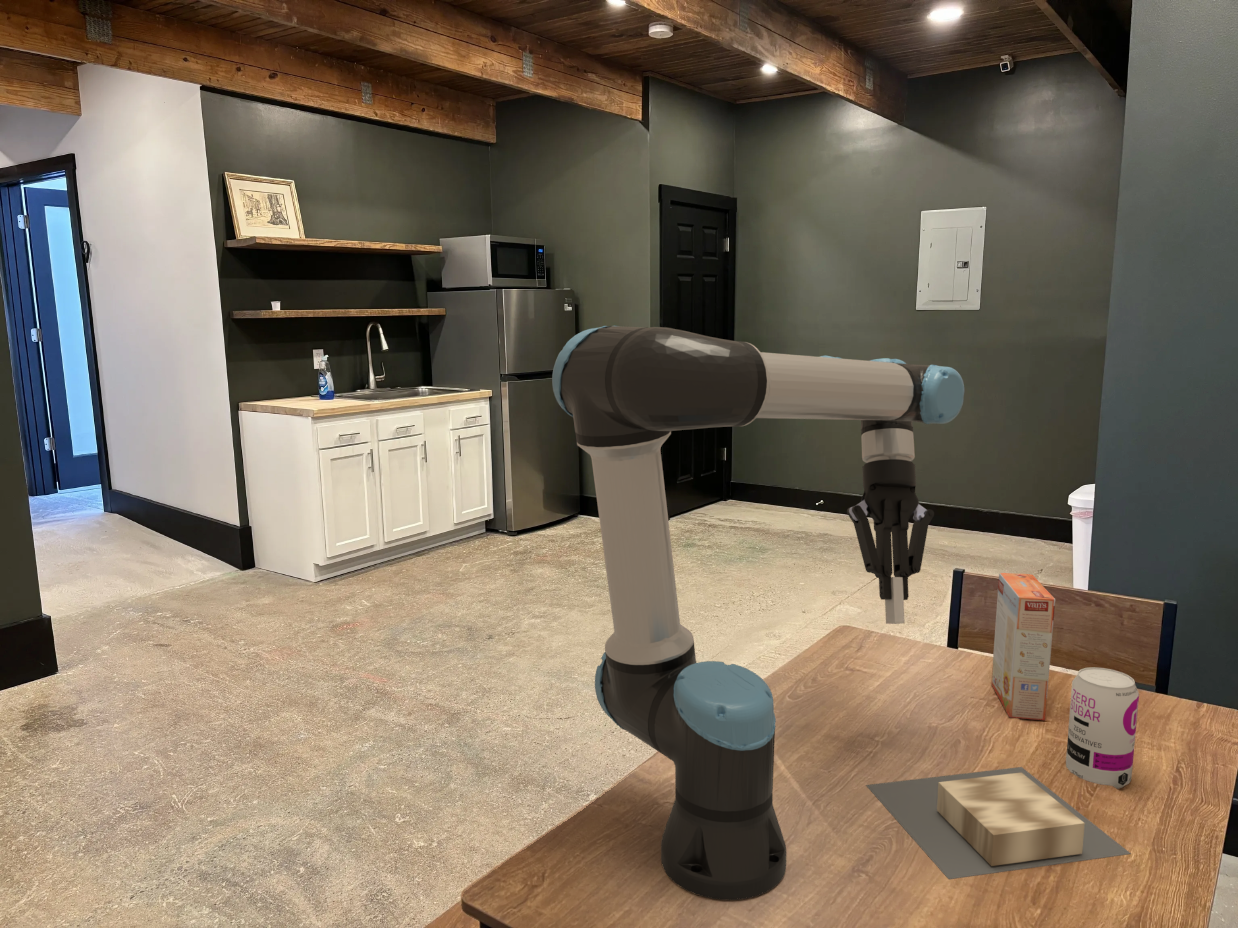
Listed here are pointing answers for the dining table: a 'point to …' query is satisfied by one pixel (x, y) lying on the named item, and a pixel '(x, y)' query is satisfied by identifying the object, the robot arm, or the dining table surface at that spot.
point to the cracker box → (1022, 645)
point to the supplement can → (1102, 726)
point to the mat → (946, 845)
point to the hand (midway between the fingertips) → (895, 623)
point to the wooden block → (1010, 819)
